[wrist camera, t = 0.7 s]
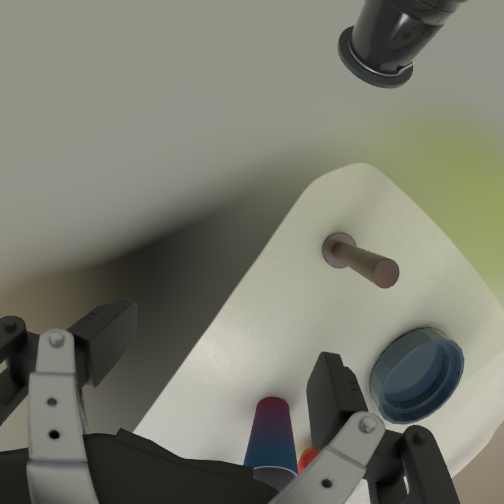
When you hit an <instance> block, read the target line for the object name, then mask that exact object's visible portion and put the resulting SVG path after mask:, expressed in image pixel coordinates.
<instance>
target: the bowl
mask: <svg viewBox="0 0 504 504" xmlns="http://www.w3.org/2000/svg"><path fill="white" fill-rule="evenodd" d="M463 368H464V357H463V353H462V349H461V348H460V347H459V346H458V344H457V343H456V342H455V341H453V340H452V339H451V338H449V337H448V336H447V335H445V334H444V333H443V332H441V331H439V330H436V329H433V328H425V329H417V330H415V331H412V332H410V333H407V334H405V335H404V336H402V337H401V338H400V339H398V340H397V341H395V342H394V343H393V344H391V346H390V347H389V348H388V349H387V350H386V351H385V352H384V353H383V354H382V356H381V357H380V359H379V361H378V362H377V364H376V366H375V368H374V369H373V373H372V377H371V381H370V389H371V395H372V397H373V399H374V401H375V403H376V405H377V407H378V410H379V411H380V413H381V415H382V416H383V418H384V419H386V420H387V421H389V422H391V423H393V424H409V423H414V422H417V421H419V420H422V419H424V418H426V417H428V416H430V415H431V414H432V413H434V412H435V411H436V410H438V409H439V408H440V407H441V406H442V405H443V404H444V403H445V402H446V401H447V400H448V399H449V398H450V397H451V395H452V394H453V392H454V391H455V389H456V388H457V386H458V384H459V382H460V379H461V376H462V373H463Z"/></svg>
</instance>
